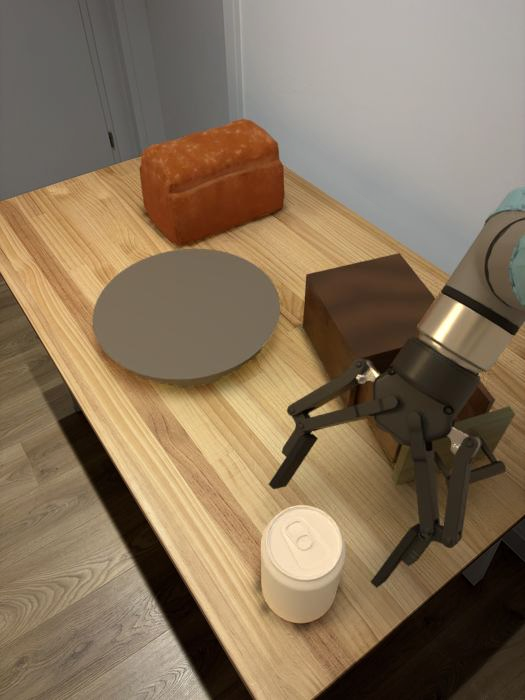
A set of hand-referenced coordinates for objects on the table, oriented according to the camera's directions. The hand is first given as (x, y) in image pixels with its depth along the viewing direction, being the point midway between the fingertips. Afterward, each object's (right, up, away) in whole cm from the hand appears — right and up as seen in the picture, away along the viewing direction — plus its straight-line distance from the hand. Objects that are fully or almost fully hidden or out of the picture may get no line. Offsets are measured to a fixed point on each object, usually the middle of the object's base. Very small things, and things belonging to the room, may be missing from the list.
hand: (324, 531), depth 55 cm
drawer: (+15, +7, +17) cm, 23 cm away
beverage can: (-2, -8, +5) cm, 10 cm away
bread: (-16, +46, +53) cm, 71 cm away
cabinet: (+10, +18, +27) cm, 34 cm away
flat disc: (-18, +22, +31) cm, 42 cm away
